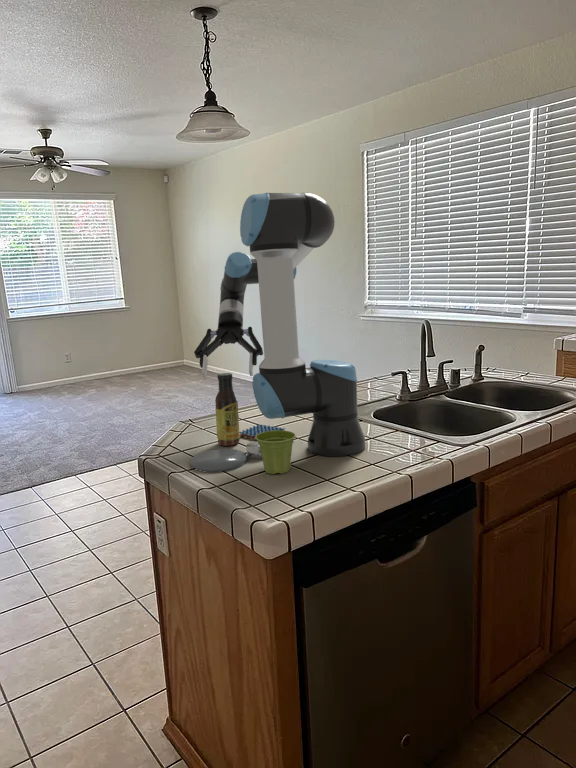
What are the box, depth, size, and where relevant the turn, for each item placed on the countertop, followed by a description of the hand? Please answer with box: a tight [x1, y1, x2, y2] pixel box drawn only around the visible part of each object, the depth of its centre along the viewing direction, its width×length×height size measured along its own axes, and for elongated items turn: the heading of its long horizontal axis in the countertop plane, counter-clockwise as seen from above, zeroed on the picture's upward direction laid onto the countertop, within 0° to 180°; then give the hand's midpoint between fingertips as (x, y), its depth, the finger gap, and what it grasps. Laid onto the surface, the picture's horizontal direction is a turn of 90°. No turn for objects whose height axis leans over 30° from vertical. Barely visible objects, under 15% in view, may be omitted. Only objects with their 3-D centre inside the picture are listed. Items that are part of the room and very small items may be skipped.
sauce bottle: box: [214, 372, 241, 447], centre depth 156 cm, size 7×6×20 cm
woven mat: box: [239, 424, 285, 441], centre depth 164 cm, size 10×11×2 cm
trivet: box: [190, 448, 247, 473], centre depth 143 cm, size 14×14×1 cm
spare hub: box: [245, 440, 263, 460], centre depth 147 cm, size 6×6×3 cm
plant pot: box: [255, 429, 296, 475], centre depth 135 cm, size 9×9×9 cm
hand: (227, 374), depth 163 cm, fingers open, 13 cm apart
